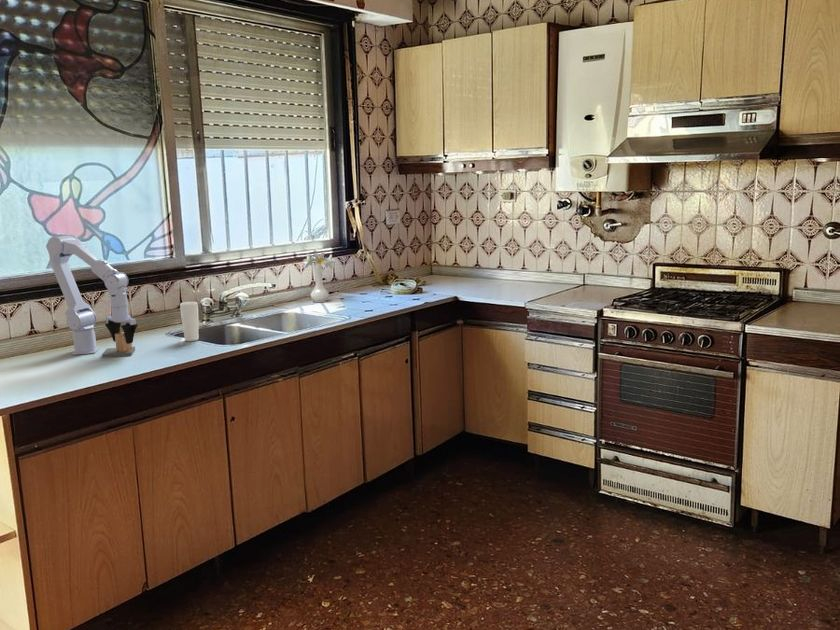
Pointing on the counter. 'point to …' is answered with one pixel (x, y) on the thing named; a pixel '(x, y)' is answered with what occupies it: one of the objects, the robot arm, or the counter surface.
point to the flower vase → (319, 275)
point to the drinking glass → (190, 320)
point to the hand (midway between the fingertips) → (123, 342)
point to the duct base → (113, 353)
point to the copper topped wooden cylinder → (122, 343)
